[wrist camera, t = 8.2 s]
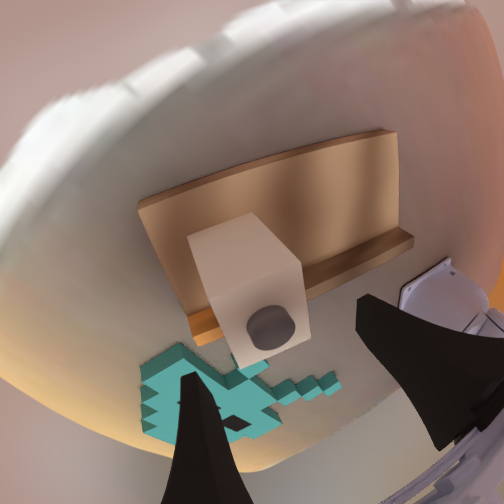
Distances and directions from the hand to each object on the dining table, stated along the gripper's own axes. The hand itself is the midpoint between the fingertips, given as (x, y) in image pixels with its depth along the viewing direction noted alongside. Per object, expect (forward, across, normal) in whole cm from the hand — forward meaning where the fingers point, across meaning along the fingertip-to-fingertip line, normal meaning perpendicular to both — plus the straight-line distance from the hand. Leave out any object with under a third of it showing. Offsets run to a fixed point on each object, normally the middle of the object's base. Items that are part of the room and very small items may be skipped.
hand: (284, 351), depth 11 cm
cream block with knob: (+8, 0, 0) cm, 8 cm away
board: (+9, -5, 0) cm, 11 cm away
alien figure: (+10, +4, +16) cm, 20 cm away
